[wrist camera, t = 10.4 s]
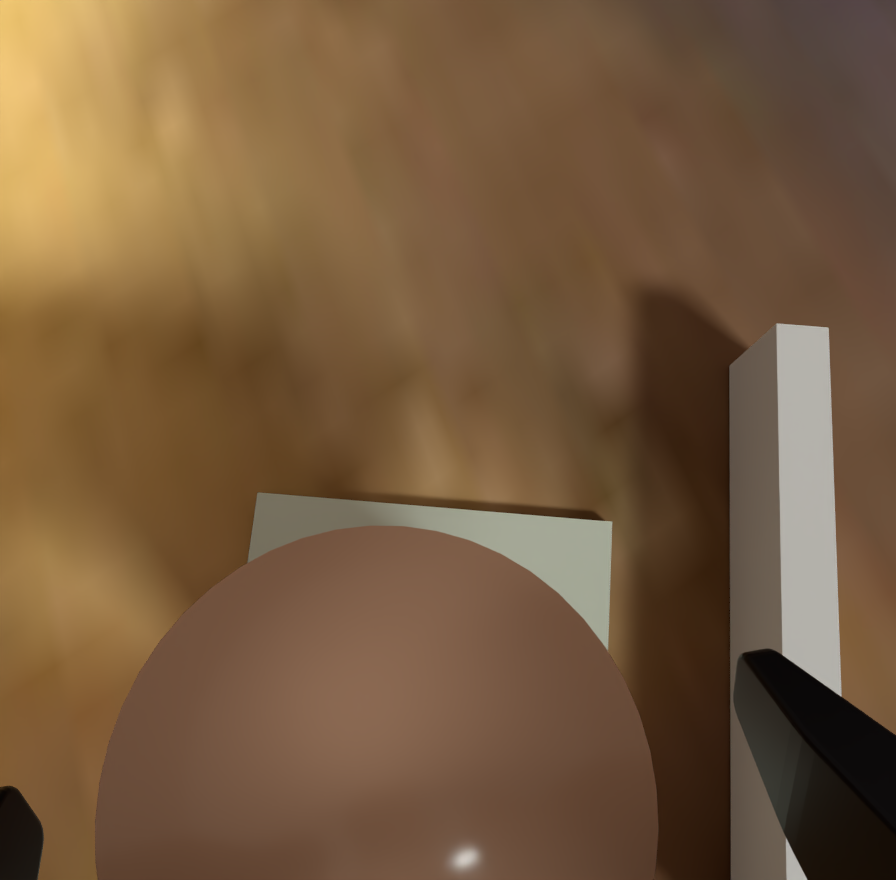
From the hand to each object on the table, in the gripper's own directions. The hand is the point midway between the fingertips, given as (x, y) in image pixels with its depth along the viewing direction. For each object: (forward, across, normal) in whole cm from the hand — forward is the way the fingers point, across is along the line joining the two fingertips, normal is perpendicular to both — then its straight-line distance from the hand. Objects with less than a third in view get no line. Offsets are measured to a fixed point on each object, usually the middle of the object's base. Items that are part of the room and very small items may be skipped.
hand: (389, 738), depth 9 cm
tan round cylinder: (+6, 0, +7) cm, 9 cm away
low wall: (+6, -8, +7) cm, 13 cm away
